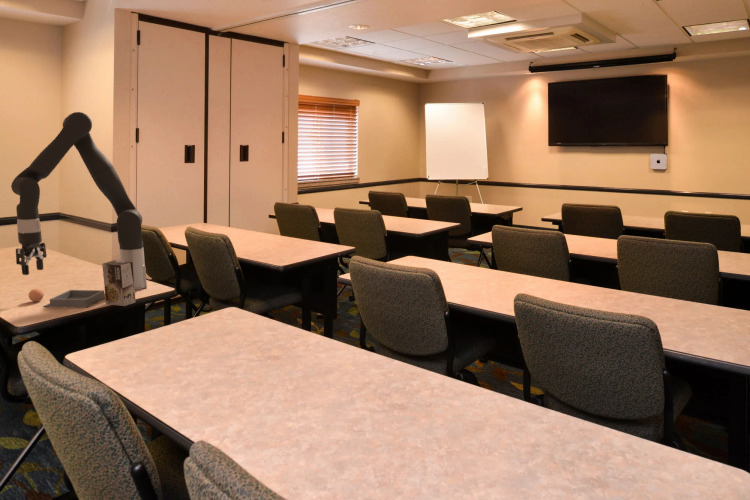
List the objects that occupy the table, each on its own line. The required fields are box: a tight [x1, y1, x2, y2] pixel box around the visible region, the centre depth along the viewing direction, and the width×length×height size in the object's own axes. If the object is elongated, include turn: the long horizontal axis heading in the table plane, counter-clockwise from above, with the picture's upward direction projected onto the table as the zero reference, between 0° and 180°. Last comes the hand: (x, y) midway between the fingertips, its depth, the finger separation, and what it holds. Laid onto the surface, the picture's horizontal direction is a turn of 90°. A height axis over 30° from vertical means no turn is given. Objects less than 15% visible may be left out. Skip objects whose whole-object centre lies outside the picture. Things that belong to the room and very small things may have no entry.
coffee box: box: [101, 259, 136, 307], centre depth 212 cm, size 9×6×16 cm
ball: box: [28, 288, 45, 303], centre depth 214 cm, size 5×5×5 cm
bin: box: [49, 289, 106, 309], centre depth 214 cm, size 14×14×3 cm
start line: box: [42, 302, 51, 308], centre depth 214 cm, size 2×14×1 cm, turn 179°
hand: (33, 272), depth 213 cm, fingers open, 8 cm apart
